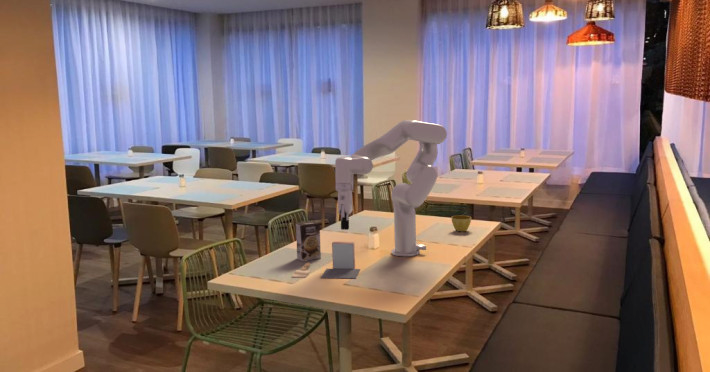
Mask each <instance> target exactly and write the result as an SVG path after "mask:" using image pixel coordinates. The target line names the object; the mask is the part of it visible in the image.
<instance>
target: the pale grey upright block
mask: <svg viewBox="0 0 710 372" xmlns="http://www.w3.org/2000/svg"><path fill="white" fill-rule="evenodd" d="M355 248H356V246H355V241H332V242H331V249H332V250H331V251H332V253H331V255H332V269H356V253H355V252H356V251H355V250H356V249H355Z"/></svg>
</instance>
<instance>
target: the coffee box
mask: <svg viewBox="0 0 710 372" xmlns="http://www.w3.org/2000/svg"><path fill="white" fill-rule="evenodd" d="M320 227H321V226H320V222H318V221H315V220H312V221H303V222H295V231H296V233H295V234H296V237H295V238H296V258H297V260H300V261H301V262H307V261H314V260H320V259H321V258H322V253H321V228H320ZM313 259H314V260H313Z"/></svg>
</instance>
